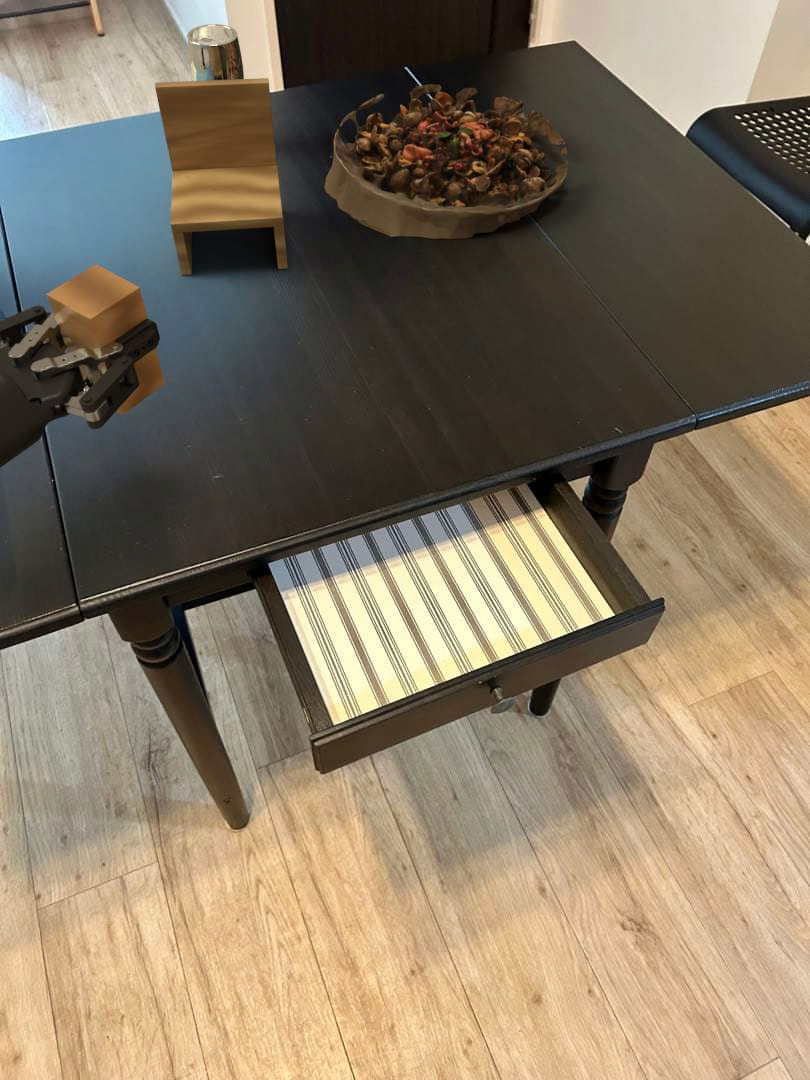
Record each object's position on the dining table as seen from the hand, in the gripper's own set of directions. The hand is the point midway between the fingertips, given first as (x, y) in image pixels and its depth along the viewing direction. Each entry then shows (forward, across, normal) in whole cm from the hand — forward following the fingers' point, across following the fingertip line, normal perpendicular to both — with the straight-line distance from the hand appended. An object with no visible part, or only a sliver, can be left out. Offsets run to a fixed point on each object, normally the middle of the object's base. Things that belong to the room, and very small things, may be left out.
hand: (130, 316), depth 68 cm
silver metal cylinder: (+49, +38, +18) cm, 65 cm away
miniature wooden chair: (+32, +21, +18) cm, 42 cm away
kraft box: (-3, 0, +6) cm, 7 cm away
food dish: (+63, +9, +18) cm, 66 cm away
